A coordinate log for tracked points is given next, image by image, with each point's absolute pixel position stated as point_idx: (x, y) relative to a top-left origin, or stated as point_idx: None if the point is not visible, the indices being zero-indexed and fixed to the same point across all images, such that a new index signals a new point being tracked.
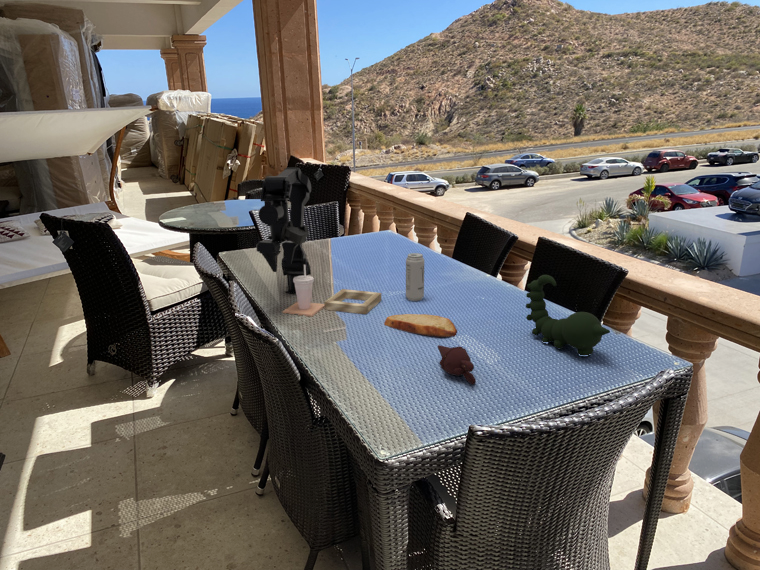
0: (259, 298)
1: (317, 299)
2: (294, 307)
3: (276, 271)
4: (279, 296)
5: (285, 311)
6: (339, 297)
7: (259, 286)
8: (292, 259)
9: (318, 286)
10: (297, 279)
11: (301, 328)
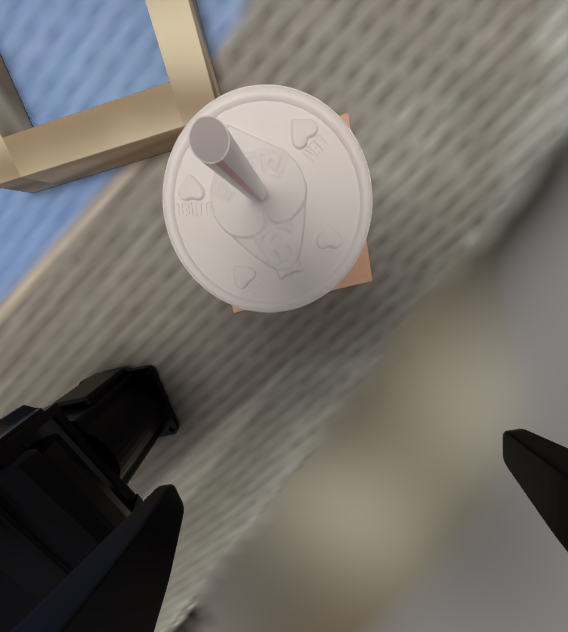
0: (282, 461)
1: (150, 268)
2: None
3: (513, 431)
4: (223, 420)
5: (369, 267)
6: (89, 116)
7: (190, 533)
8: (110, 537)
9: (35, 375)
10: (337, 230)
11: (510, 37)
